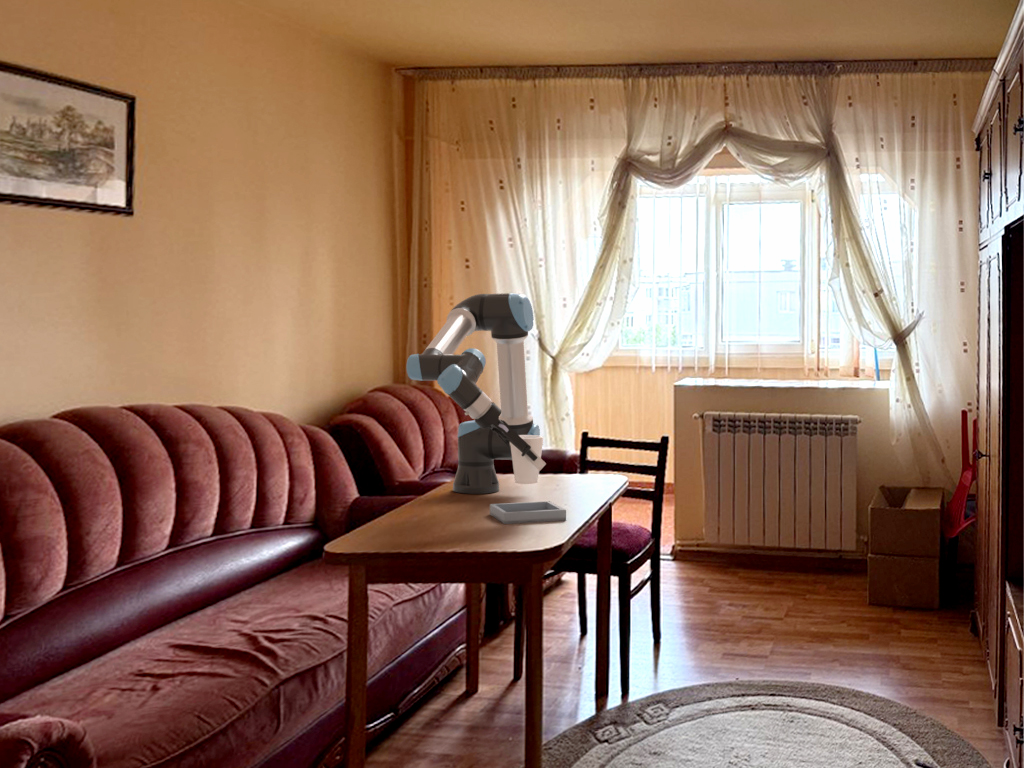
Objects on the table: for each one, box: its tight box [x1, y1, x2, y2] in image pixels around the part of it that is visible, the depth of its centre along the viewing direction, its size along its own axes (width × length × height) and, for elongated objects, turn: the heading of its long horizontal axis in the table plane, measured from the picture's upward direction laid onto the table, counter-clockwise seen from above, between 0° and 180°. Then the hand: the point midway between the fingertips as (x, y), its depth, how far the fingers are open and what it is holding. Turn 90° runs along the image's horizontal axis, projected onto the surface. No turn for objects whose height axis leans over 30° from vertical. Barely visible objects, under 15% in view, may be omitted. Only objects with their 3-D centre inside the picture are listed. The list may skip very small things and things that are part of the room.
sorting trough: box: [489, 500, 567, 525], centre depth 323 cm, size 15×18×3 cm
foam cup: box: [510, 435, 544, 485], centre depth 322 cm, size 10×9×13 cm
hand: (537, 464), depth 323 cm, fingers closed on foam cup, 9 cm apart
